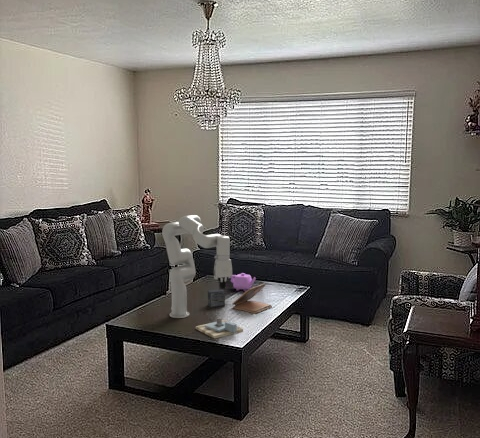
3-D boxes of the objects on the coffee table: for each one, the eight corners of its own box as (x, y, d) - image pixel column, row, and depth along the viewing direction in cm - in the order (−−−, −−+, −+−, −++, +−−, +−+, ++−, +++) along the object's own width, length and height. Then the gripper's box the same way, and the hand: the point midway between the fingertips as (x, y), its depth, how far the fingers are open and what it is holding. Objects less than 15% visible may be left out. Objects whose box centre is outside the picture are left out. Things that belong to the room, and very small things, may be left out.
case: (249, 301, 359) (249, 279, 357) (273, 307, 346) (273, 284, 344) (230, 308, 344) (230, 285, 342) (255, 314, 331) (255, 290, 329)
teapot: (228, 290, 389) (227, 273, 388) (234, 286, 401) (234, 270, 399) (252, 292, 382) (252, 276, 380) (258, 288, 393) (258, 272, 392)
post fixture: (195, 328, 303) (195, 317, 302) (223, 322, 314) (223, 311, 313) (214, 338, 287) (214, 326, 286) (243, 331, 298) (243, 319, 297)
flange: (204, 327, 300) (204, 319, 299) (219, 322, 309) (219, 315, 308) (227, 335, 287) (227, 327, 286) (242, 329, 296) (242, 322, 295)
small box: (222, 303, 354) (222, 288, 353) (225, 306, 348) (225, 291, 347) (207, 305, 351) (207, 290, 349) (210, 307, 345) (210, 292, 343)
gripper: (213, 259, 290) (213, 291, 292) (237, 257, 296) (236, 288, 299) (208, 257, 296) (208, 287, 299) (231, 255, 303) (231, 285, 306)
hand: (222, 288), depth 299 cm, fingers closed
